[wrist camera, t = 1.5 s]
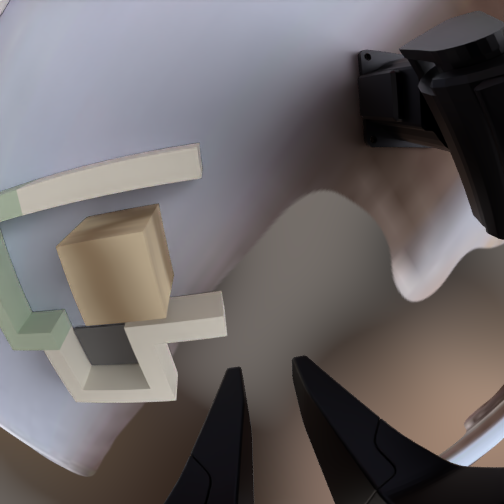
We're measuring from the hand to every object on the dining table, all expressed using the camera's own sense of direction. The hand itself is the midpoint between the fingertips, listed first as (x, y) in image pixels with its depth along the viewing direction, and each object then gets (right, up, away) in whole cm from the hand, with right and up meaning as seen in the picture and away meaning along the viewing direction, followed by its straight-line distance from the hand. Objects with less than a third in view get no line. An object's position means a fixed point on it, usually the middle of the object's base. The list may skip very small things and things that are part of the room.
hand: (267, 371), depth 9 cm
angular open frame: (-11, +1, +11) cm, 16 cm away
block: (-8, +4, +10) cm, 14 cm away
